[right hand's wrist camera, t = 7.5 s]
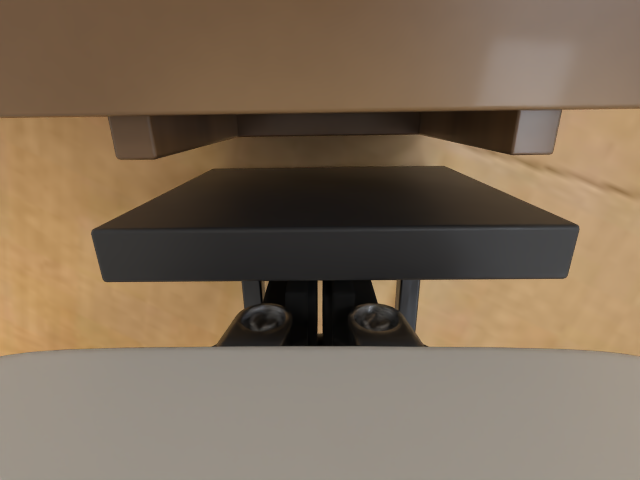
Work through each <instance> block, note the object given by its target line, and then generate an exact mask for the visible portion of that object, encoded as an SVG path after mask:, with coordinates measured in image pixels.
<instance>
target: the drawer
mask: <svg viewBox="0 0 640 480" xmlns="http://www.w3.org/2000/svg"><path fill="white" fill-rule="evenodd" d="M561 112H562V110H503V111H435V112H367V113H299V114H231V115H163V116H108V120H109V124H110V129H111V134H112V139H113V143H114V148H115V153H116V157H117V158H118V159H120V160H155V159H158V158H162V157H166V156H169V155H173V154H176V153H180V152H184V151H187V150H191V149H195V148H198V147H202V146H206V145H209V144H213V143H217V142H220V141H224V140H228V139H231V138H235V137H264V136H337V135H410V134H420V135H424V136H429V137H433V138H438V139H442V140H447V141H451V142H456V143H460V144H465V145H469V146H474V147H478V148H483V149H487V150H492V151H496V152H500V153H505V154H509V155H550V154H552V153H553V150H554V145H555V141H556V136H557V131H558V126H559V122H560V117H561ZM578 233H579V226H578V225H577V224H574V223H572V222H570V221H568V220H565V219H563V218H561V217H559V216H556V215H554V214H552V213H550V212H547V211H545V210H543V209H540V208H538V207H536V206H534V205H531V204H529V203H527V202H525V201H522V200H520V199H518V198H516V197H513V196H511V195H509V194H506V193H504V192H502V191H500V190H497V189H495V188H493V187H491V186H488V185H486V184H484V183H482V182H479V181H477V180H475V179H472V178H470V177H468V176H466V175H463V174H461V173H459V172H457V171H454V170H452V169H450V168H448V167H445V166H407V167H326V168H245V169H212V170H210V171H208V172H206V173H204V174H202V175H200V176H198V177H196V178H194V179H192V180H190V181H188V182H186V183H184V184H182V185H180V186H178V187H176V188H174V189H172V190H170V191H168V192H166V193H164V194H162V195H160V196H158V197H156V198H155V199H153V200H151V201H149V202H147V203H145V204H143V205H141V206H139V207H137V208H135V209H133V210H131V211H129V212H127V213H125V214H123V215H121V216H119V217H117V218H115V219H113V220H111V221H109V222H107V223H105V224H103V225H101V226H99V227H97V228H95V229H93V230H92V232H91V235H92V239H93V243H94V247H95V251H96V255H97V259H98V263H99V267H100V270H101V274H102V278H103V280H104V281H105V282H180V281H242V290H243V300H244V309H245V308H247V307H250V306H253V305H257V304H262V303H263V299H264V296H265V285H264V281H315V280H397V285H396V300H395V309H396V310H398V311H399V312H400V313H401V314H402V315H403V316H404V317H405V318H406V320H407V321H408V323H409V324H410V326H411V327H412V329H413V330H414V332H415V330H416V320H417V309H418V299H419V288H420V280H450V279H564V278H566V277H567V276H568V272H569V268H570V264H571V260H572V256H573V252H574V249H575V245H576V241H577V237H578ZM317 346H323V334H317Z"/></svg>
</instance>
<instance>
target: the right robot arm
mask: <svg viewBox="0 0 640 480" xmlns="http://www.w3.org/2000/svg"><path fill="white" fill-rule="evenodd" d="M322 319H323V346H317V324H318V286H317V280H315V281H269V283H268V286H267V289H266V293H265V296H264V299H263V303H262V304H257V305H253V306H250V307H247V308H245V309H244V310H242V311H241V312H240V313H239V314H238V315H237V316H236V317H235V318H234V320H233V321H232V323H231V324H230V326H229V327H228V329H227V330H226V332H225V333H224V335H223V336H222V337H221V339H220V340H219V342H218V343H217V344H216V345H214V346H212V347H153V348H102V349H68V350H53V351H38V352H28V353H20V354H12V355H6V356H0V480H640V356H634V355H628V354H620V353H611V352H603V351H587V350H570V349H538V348H496V347H428V346H426V345H424V344H423V343H422V342H421V340H420V339H419V337H418V336H417V335H416V333H415V332H414V330H413V329H412V327H411V326H410V324H409V323H408V321H407V320H406V318H405V317H404V316H403V315H402V314H401V313H400V312H399V311H398V310H396V309H395V308H393V307H390V306H387V305H383V304H378V303H377V299H376V296H375V293H374V289H373V286H372V283H371V280H323V304H322Z"/></svg>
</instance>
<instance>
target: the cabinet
mask: <svg viewBox="0 0 640 480" xmlns="http://www.w3.org/2000/svg"><path fill="white" fill-rule="evenodd" d="M638 108H640V0H0V118H28V117H95V116H163V115H231V114H299V113H367V112H435V111H503V110H570V109H638Z"/></svg>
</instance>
